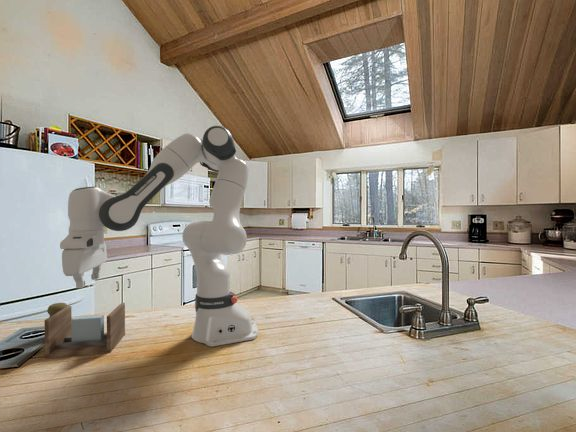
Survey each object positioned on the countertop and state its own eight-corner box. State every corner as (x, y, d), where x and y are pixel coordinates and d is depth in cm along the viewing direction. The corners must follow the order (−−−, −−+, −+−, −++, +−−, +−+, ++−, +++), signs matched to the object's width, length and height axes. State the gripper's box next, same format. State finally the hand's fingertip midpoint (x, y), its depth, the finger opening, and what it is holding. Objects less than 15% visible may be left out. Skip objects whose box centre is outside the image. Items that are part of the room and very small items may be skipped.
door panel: (104, 339, 90) (104, 314, 90) (100, 343, 88) (100, 317, 88) (75, 341, 89) (75, 316, 88) (71, 345, 86) (71, 319, 86)
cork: (56, 341, 91) (55, 307, 90) (41, 339, 92) (40, 306, 92) (73, 333, 97) (73, 301, 96) (59, 331, 98) (59, 300, 98)
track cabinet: (125, 334, 96) (124, 302, 96) (110, 352, 84) (110, 316, 84) (68, 338, 92) (67, 305, 92) (44, 358, 81) (44, 320, 80)
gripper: (91, 235, 96) (92, 275, 97) (56, 244, 77) (58, 294, 77) (111, 235, 98) (112, 274, 98) (82, 243, 78) (84, 292, 78)
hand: (88, 283), depth 88 cm, fingers open, 8 cm apart
